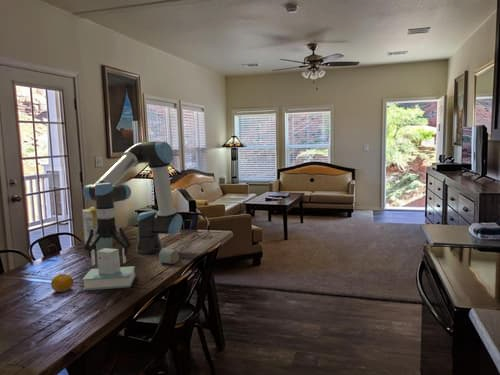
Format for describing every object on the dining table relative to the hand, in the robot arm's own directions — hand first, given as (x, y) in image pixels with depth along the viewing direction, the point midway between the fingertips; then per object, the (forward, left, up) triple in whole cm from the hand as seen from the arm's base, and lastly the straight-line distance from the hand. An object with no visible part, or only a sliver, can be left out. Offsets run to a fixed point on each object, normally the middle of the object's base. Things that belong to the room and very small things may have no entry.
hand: (109, 263), depth 176 cm
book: (0, 0, -9) cm, 9 cm away
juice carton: (-75, -27, -9) cm, 80 cm away
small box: (0, 0, -4) cm, 4 cm away
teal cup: (-55, -15, -9) cm, 58 cm away
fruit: (+5, -19, -10) cm, 22 cm away
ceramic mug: (-26, +25, -10) cm, 38 cm away
